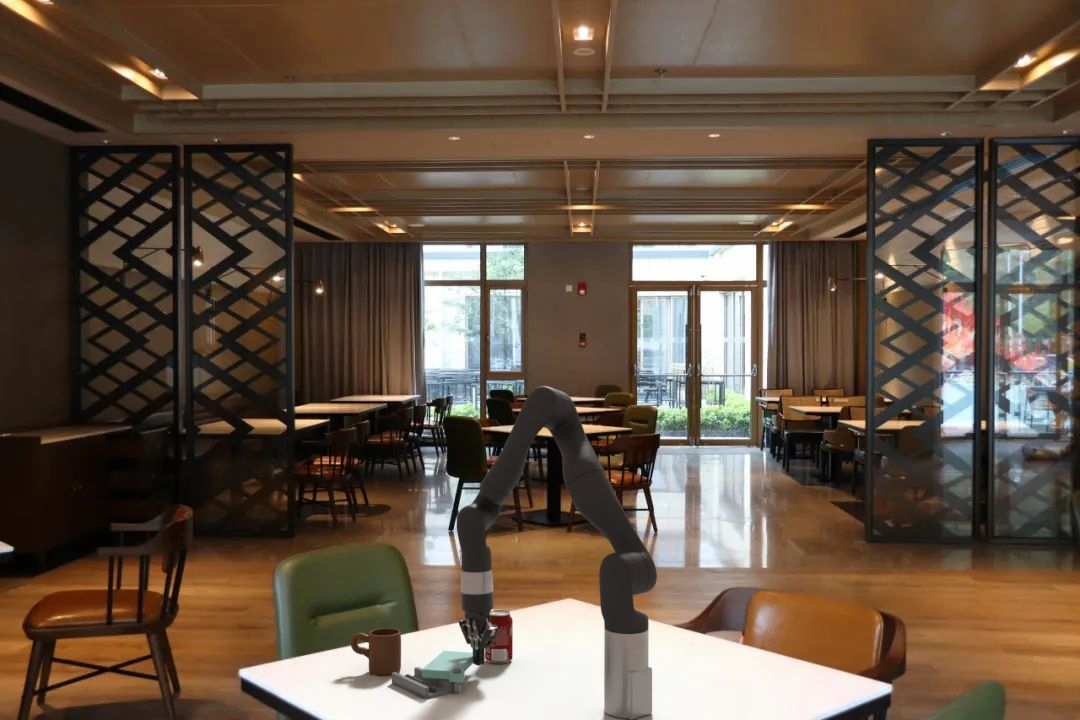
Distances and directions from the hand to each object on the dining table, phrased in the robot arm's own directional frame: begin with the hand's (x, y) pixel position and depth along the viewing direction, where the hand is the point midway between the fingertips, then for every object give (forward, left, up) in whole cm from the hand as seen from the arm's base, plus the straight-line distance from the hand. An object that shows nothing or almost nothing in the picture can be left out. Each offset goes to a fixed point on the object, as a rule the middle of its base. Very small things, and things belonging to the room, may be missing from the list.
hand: (478, 664), depth 225 cm
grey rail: (+1, +14, -3) cm, 14 cm away
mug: (+19, +17, -3) cm, 25 cm away
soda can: (+7, -11, -3) cm, 14 cm away
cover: (+1, +7, 0) cm, 7 cm away
